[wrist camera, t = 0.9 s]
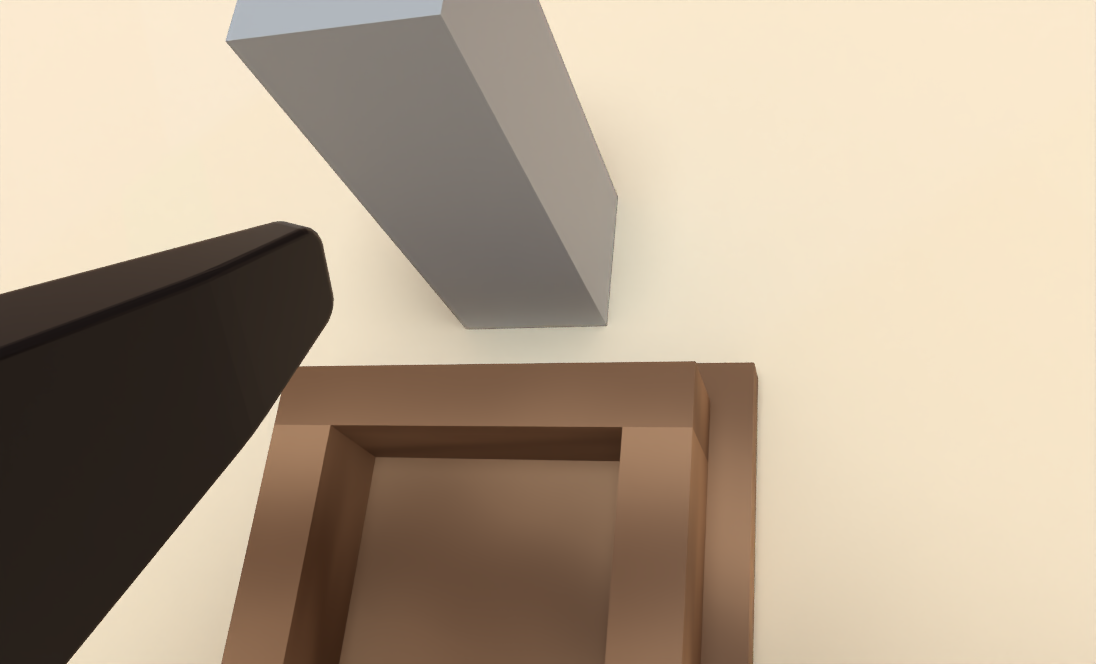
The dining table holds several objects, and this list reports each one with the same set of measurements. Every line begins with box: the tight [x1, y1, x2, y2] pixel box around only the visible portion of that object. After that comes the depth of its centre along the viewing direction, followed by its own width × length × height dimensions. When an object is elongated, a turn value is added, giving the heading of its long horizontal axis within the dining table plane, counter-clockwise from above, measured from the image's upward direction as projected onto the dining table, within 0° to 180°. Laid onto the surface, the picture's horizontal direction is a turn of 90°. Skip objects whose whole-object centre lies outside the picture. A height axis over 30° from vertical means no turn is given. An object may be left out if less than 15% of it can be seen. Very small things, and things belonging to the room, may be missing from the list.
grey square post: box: [226, 0, 618, 329], centre depth 23 cm, size 4×4×12 cm
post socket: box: [221, 361, 758, 664], centre depth 22 cm, size 12×12×4 cm
